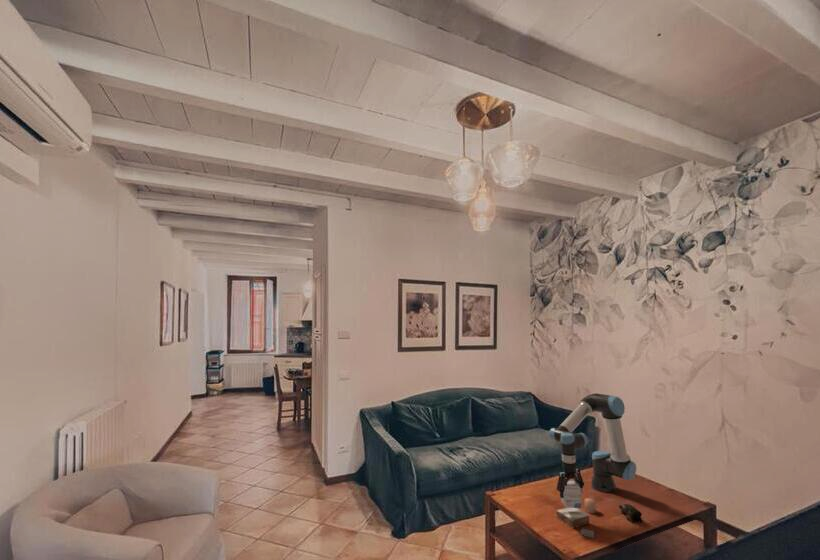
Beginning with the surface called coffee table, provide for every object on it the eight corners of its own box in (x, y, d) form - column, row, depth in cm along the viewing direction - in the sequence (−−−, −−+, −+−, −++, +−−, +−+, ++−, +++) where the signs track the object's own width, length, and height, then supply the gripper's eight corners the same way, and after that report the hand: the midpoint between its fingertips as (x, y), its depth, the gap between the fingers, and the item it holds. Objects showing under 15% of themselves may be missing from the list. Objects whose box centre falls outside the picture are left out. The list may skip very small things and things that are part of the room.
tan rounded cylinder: (582, 509, 232) (582, 499, 232) (590, 507, 234) (589, 497, 235) (591, 514, 226) (590, 503, 227) (598, 512, 229) (597, 501, 229)
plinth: (557, 518, 223) (556, 510, 223) (572, 513, 227) (572, 505, 228) (573, 528, 212) (572, 519, 212) (589, 523, 216) (588, 514, 217)
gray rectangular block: (581, 536, 205) (580, 532, 205) (582, 532, 208) (581, 528, 209) (593, 539, 202) (593, 535, 202) (594, 535, 205) (594, 531, 205)
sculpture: (616, 512, 227) (615, 500, 228) (626, 511, 228) (625, 499, 229) (633, 524, 214) (632, 511, 215) (643, 523, 215) (642, 510, 216)
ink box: (578, 501, 224) (576, 480, 225) (581, 508, 215) (580, 486, 217) (562, 500, 225) (561, 479, 226) (565, 507, 217) (564, 485, 218)
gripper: (557, 467, 215) (560, 508, 213) (589, 460, 224) (592, 499, 222) (548, 462, 222) (550, 502, 219) (579, 456, 231) (581, 494, 229)
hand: (571, 501), depth 221 cm, fingers closed on ink box, 11 cm apart
